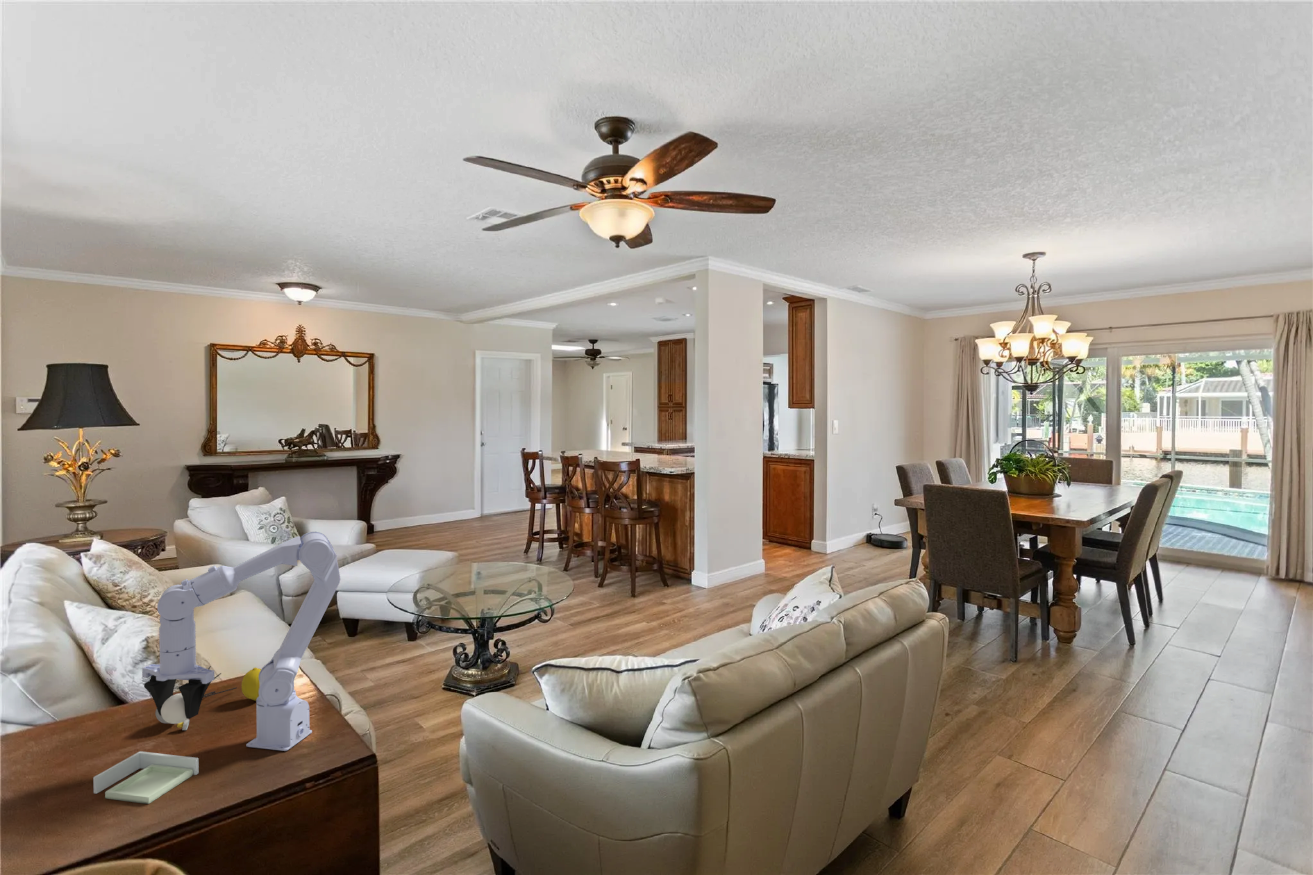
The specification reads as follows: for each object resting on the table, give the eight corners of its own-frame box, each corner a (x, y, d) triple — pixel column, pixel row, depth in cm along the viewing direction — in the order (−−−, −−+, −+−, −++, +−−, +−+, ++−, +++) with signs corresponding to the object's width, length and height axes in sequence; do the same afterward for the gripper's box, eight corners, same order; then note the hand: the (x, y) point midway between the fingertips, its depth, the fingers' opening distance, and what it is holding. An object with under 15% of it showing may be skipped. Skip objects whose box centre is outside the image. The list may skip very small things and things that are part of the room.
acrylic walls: (198, 773, 123) (198, 757, 123) (156, 801, 114) (155, 784, 114) (140, 766, 125) (139, 751, 125) (93, 793, 116) (93, 777, 116)
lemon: (259, 706, 151) (259, 672, 150) (236, 705, 151) (235, 672, 150) (274, 695, 156) (273, 663, 156) (251, 694, 156) (251, 662, 156)
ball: (203, 717, 129) (203, 689, 129) (178, 730, 124) (178, 702, 123) (179, 713, 130) (179, 686, 130) (153, 727, 124) (153, 699, 124)
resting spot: (192, 775, 122) (192, 769, 122) (148, 803, 114) (148, 797, 113) (151, 770, 124) (151, 764, 124) (105, 798, 115) (105, 791, 115)
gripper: (126, 651, 123) (127, 720, 124) (192, 658, 121) (192, 728, 121) (160, 638, 130) (161, 704, 131) (223, 644, 128) (223, 711, 128)
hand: (178, 714), depth 127 cm, fingers closed on ball, 6 cm apart
